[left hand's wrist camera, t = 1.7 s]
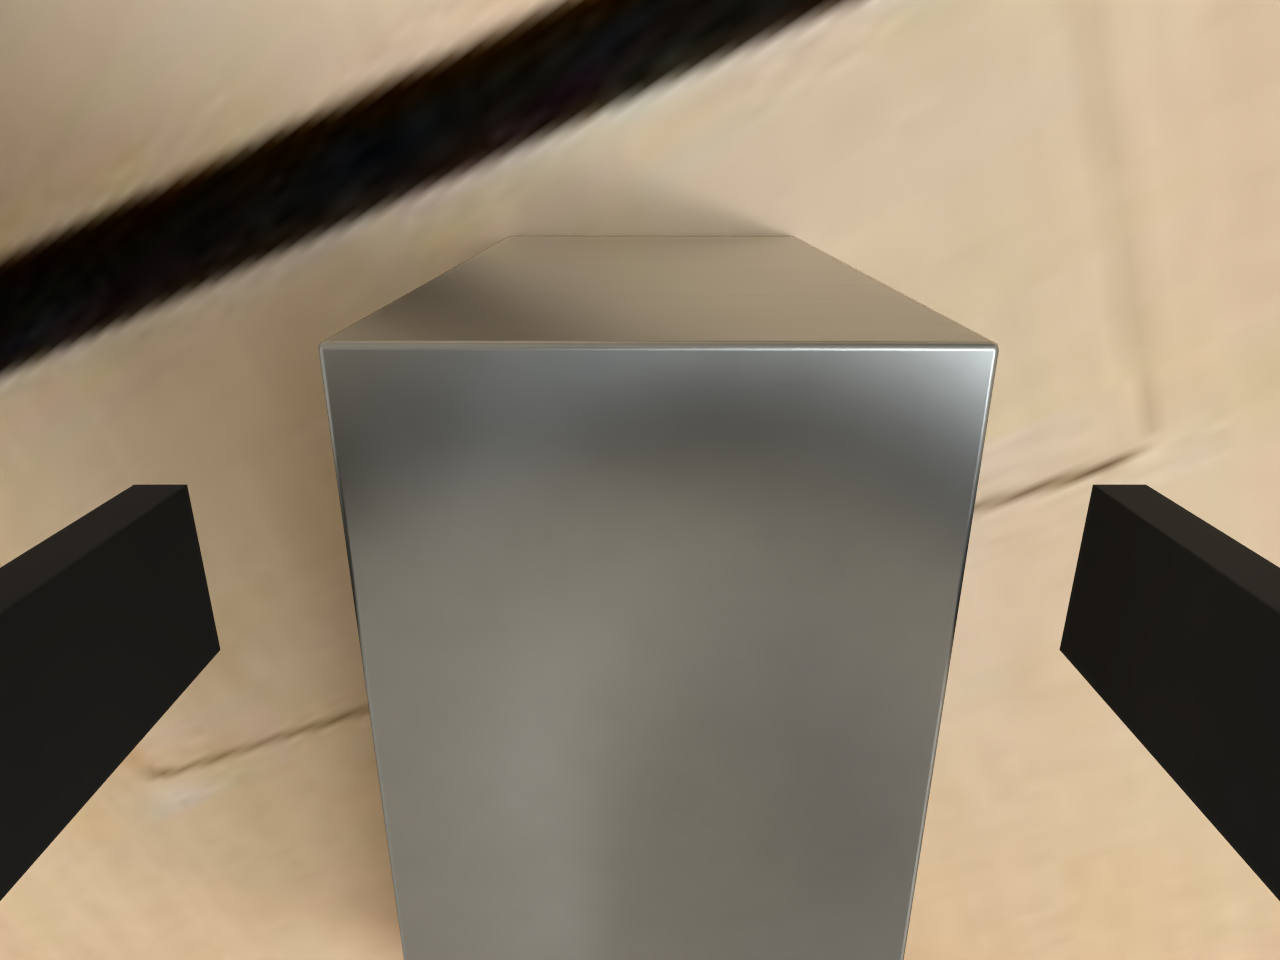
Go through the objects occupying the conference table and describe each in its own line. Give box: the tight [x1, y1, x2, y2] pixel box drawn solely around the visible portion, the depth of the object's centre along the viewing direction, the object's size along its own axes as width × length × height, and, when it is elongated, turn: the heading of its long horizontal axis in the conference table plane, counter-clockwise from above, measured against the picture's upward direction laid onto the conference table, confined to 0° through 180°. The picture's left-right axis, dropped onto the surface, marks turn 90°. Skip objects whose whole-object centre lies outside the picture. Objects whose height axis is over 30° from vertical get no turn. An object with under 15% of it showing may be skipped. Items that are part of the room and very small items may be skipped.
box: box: [319, 236, 999, 960], centre depth 19 cm, size 25×7×13 cm, turn 0°
